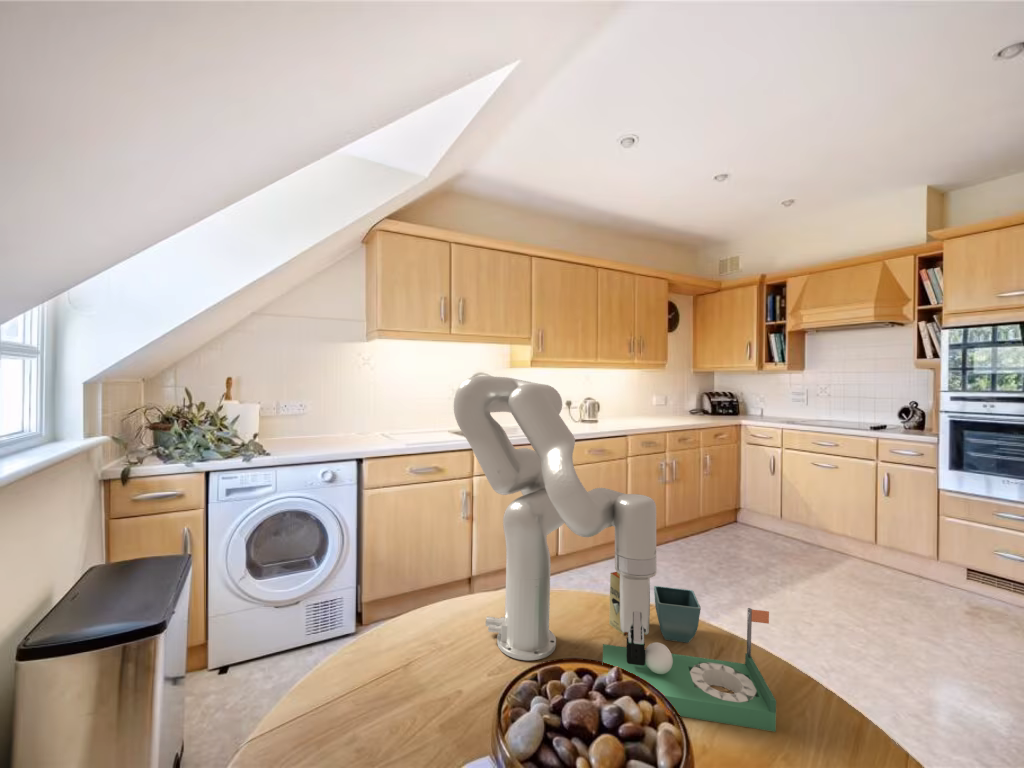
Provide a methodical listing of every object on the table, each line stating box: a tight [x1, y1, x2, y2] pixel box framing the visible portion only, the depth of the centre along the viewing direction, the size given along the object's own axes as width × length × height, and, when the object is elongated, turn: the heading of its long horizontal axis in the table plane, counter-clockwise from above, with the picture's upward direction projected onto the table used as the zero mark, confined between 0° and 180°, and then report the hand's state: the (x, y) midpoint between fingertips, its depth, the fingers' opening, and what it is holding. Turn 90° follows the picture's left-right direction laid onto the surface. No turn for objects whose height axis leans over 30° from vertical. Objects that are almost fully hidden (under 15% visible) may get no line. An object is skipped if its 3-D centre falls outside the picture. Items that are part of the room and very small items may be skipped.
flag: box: [746, 607, 770, 667], centre depth 83 cm, size 4×1×14 cm, turn 78°
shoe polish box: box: [608, 571, 628, 636], centre depth 102 cm, size 5×5×12 cm
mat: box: [602, 643, 777, 733], centre depth 81 cm, size 28×13×5 cm, turn 78°
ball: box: [645, 641, 673, 674], centre depth 81 cm, size 5×5×5 cm
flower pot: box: [653, 585, 701, 644], centre depth 99 cm, size 9×9×9 cm
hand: (635, 661), depth 82 cm, fingers closed
